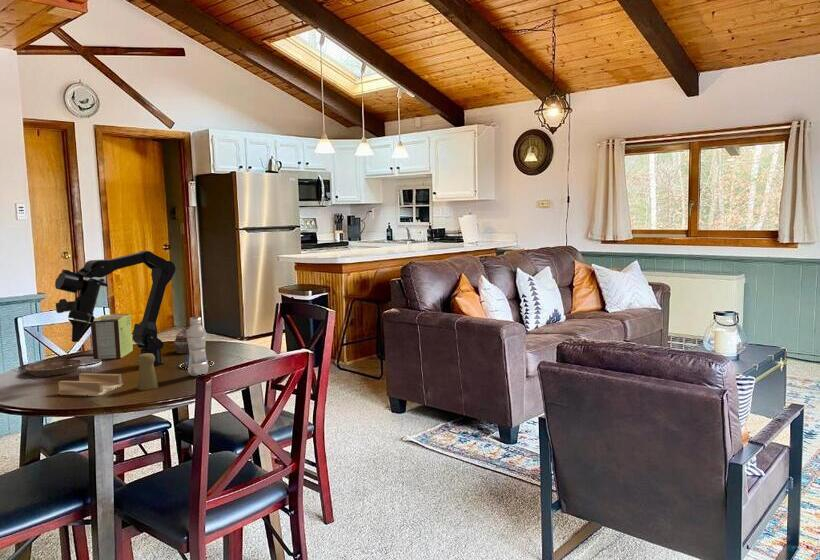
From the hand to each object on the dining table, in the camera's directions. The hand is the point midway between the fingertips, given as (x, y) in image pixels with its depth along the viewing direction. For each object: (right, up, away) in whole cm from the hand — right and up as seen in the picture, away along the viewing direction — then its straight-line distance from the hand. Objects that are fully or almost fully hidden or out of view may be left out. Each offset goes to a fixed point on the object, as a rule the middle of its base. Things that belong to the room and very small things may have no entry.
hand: (75, 341), depth 204 cm
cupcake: (+21, -9, +44) cm, 50 cm away
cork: (+28, -14, -9) cm, 32 cm away
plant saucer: (-16, -13, +15) cm, 25 cm away
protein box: (-7, -10, +40) cm, 42 cm away
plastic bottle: (+39, -12, +5) cm, 42 cm away
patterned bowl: (+34, -11, +20) cm, 41 cm away
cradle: (+11, -14, -10) cm, 20 cm away
